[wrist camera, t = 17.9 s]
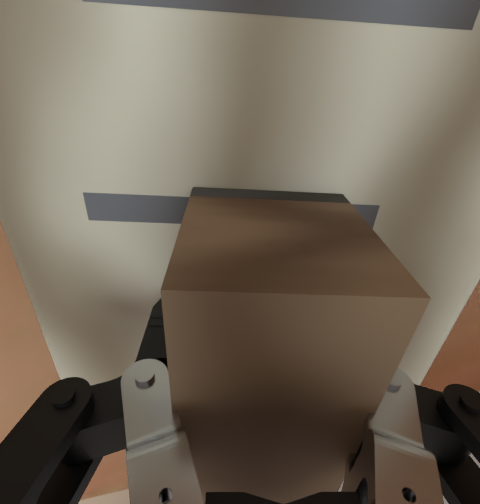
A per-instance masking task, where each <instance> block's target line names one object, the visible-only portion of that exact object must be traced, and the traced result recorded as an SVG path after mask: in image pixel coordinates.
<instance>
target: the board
mask: <svg viewBox="0 0 480 504" xmlns="http://www.w3.org/2000/svg"><path fill="white" fill-rule="evenodd" d="M193 187H205V188H226V189H247V190H268V191H289V192H309V193H330V194H343V195H344V196H345V197H346V198H347V200H348V201H349V202H350V203H351V204H352V205H353V207H354V208H355V209H356V210H357V211H358V213H359V214H360V215H361V216H362V217H363V218H364V220H365V221H366V222H367V223H368V224H369V226H370V227H371V228H372V229H373V230H374V231H375V233H376V234H377V235H378V236H379V237H380V239H381V240H382V241H383V242H384V243H385V244H386V246H387V247H388V248H389V249H390V250H391V252H392V253H393V254H394V255H395V256H396V257H397V259H398V260H399V261H400V262H401V263H402V265H403V266H404V267H405V268H406V269H407V270H408V272H409V273H410V274H411V275H412V276H413V278H414V279H415V280H416V281H417V282H418V283H419V285H420V286H421V287H422V288H423V289H424V291H425V292H426V293H427V294H428V295H429V296H430V298H431V300H430V302H429V304H428V306H427V308H426V310H425V312H424V314H423V316H422V318H421V320H420V322H419V325H418V327H417V329H416V331H415V333H414V335H413V337H412V339H411V341H410V343H409V345H408V347H407V349H406V351H405V353H404V356H403V358H402V360H401V362H400V364H399V366H398V368H399V369H401V370H402V371H403V372H405V373H406V374H407V375H408V376H409V377H410V379H411V380H412V382H413V383H414V384H416V385H419V386H420V384H421V382H422V380H423V379H424V377H425V375H426V373H427V372H428V370H429V368H430V366H431V364H432V363H433V361H434V359H435V357H436V356H437V354H438V352H439V350H440V348H441V347H442V345H443V343H444V341H445V340H446V338H447V336H448V334H449V332H450V331H451V329H452V327H453V325H454V324H455V322H456V320H457V318H458V316H459V315H460V313H461V311H462V309H463V308H464V306H465V304H466V302H467V301H468V299H469V297H470V295H471V293H472V292H473V290H474V288H475V286H476V285H477V283H478V281H479V279H480V0H0V221H1V224H2V226H3V229H4V232H5V234H6V237H7V240H8V242H9V245H10V248H11V250H12V253H13V255H14V258H15V261H16V263H17V266H18V269H19V271H20V274H21V277H22V279H23V282H24V285H25V287H26V290H27V292H28V295H29V298H30V300H31V303H32V306H33V308H34V311H35V314H36V316H37V319H38V322H39V324H40V327H41V329H42V332H43V335H44V337H45V340H46V343H47V345H48V348H49V351H50V353H51V356H52V358H53V361H54V364H55V366H56V369H57V372H58V374H59V377H60V380H62V379H65V378H69V377H80V378H83V379H85V380H87V381H88V382H89V384H90V386H91V385H95V384H99V383H103V382H106V381H110V380H113V379H116V378H118V377H120V376H121V375H123V373H124V372H125V370H126V369H127V368H128V367H129V366H130V365H132V364H133V363H135V360H136V358H137V354H138V351H139V348H140V345H141V342H142V339H143V336H144V333H145V330H146V327H147V323H148V320H149V318H150V314H151V311H152V308H153V306H154V305H155V304H156V303H157V302H158V301H159V299H160V298H161V287H162V284H163V280H164V277H165V274H166V271H167V268H168V264H169V261H170V258H171V255H172V252H173V248H174V245H175V242H176V239H177V236H178V232H179V229H180V226H181V223H182V220H183V216H184V213H185V210H186V207H187V204H188V201H189V197H190V194H191V191H192V188H193Z"/></svg>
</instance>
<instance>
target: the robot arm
mask: <svg viewBox="0 0 480 504" xmlns="http://www.w3.org/2000/svg"><path fill="white" fill-rule="evenodd" d="M126 448H127V449H126ZM123 449H126V465H127V475H128V486H129V497H130V504H204V502H203V498H202V494H201V490H200V486H199V482H198V478H197V475H196V471H195V467H194V463H193V459H192V455H191V451H190V447H189V443H188V440H187V436H186V433H185V430H184V429H183V428H182V425H181V421H180V417H179V413H178V410H172V407H171V396H170V386H169V375H168V364H167V354H166V343H165V332H164V322H163V311H162V301H161V298H160V299H159V301H158V302H157V303H156V304H155V305H154V306H153V308H152V311H151V314H150V318H149V320H148V323H147V327H146V330H145V333H144V336H143V339H142V342H141V345H140V348H139V351H138V354H137V358H136V360H135V363H133V364H132V365H130V366H129V367H128V368H127V369H126V370H125V372H124V373H123V375H121V376H120V377H118V378H116V379H113V380H110V381H106V382H103V383H99V384H95V385H91V386H90V384H89V382H88V381H87V380H85V379H83V378H80V377H69V378H65V379H62V380H59V381H57V382H55V383H54V384H52V385H51V386H49V387H48V388H47V389H46V390H45V391H44V392H43V393H42V394H41V395H40V397H39V398H38V399H37V400H36V401H35V403H34V404H33V405H32V406H31V407H30V409H29V410H28V411H27V412H26V413H25V415H24V416H23V417H22V418H21V419H20V421H19V422H18V423H17V424H16V425H15V427H14V428H13V429H12V430H11V431H10V433H9V434H8V435H7V436H6V438H5V439H4V440H3V441H2V442H1V444H0V504H78V502H79V501H80V499H81V497H82V495H83V493H84V491H85V489H86V488H87V486H88V484H89V482H90V480H91V478H92V476H93V475H94V473H95V471H96V469H97V467H98V465H99V463H100V462H101V460H102V458H103V456H105V455H108V454H111V453H114V452H117V451H120V450H123ZM471 453H472V454H473V455H474V457H475V458H476V459H477V460H478V461H479V463H480V393H479V392H477V391H476V390H474V389H472V388H470V387H467V386H464V385H460V384H451V385H448V386H447V387H446V388H445V389H444V391H443V392H439V391H436V390H432V389H429V388H425V387H422V386H419V385H416V384H414V383H413V382H412V380H411V379H410V377H409V376H408V375H407V374H406V373H405V372H403V371H402V370H401V369H399V368H397V370H396V372H395V374H394V376H393V378H392V380H391V382H390V384H389V387H388V389H387V391H386V393H385V395H384V397H383V399H382V401H381V403H380V405H379V407H378V409H377V411H376V413H368V414H367V416H366V418H365V420H364V423H363V440H362V442H361V444H360V447H359V449H358V451H357V453H356V454H352V453H349V455H348V457H347V460H346V462H345V477H344V483H343V487H342V491H341V492H318V493H316V494H313V495H310V496H307V497H304V498H301V499H298V500H295V501H292V502H289V503H286V504H444V501H443V496H444V497H445V499H446V500H447V502H448V503H449V504H480V468H479V467H478V466H477V464H476V463H475V462H474V461H473V459H472V458H471V457H470V456H469V455H470V454H471ZM442 494H443V495H442ZM205 504H282V503H278V502H275V501H271V500H268V499H265V498H262V497H259V496H255V495H252V494H249V493H246V492H206V499H205Z"/></svg>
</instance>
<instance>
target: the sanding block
mask: <svg viewBox="0 0 480 504" xmlns="http://www.w3.org/2000/svg"><path fill="white" fill-rule="evenodd" d="M430 300H431V298H430V296H429V295H428V294H427V293H426V292H425V291H424V289H423V288H422V287H421V286H420V285H419V283H418V282H417V281H416V280H415V279H414V278H413V276H412V275H411V274H410V273H409V272H408V270H407V269H406V268H405V267H404V266H403V265H402V263H401V262H400V261H399V260H398V259H397V257H396V256H395V255H394V254H393V253H392V252H391V250H390V249H389V248H388V247H387V246H386V244H385V243H384V242H383V241H382V240H381V239H380V237H379V236H378V235H377V234H376V233H375V231H374V230H373V229H372V228H371V227H370V226H369V224H368V223H367V222H366V221H365V220H364V218H363V217H362V216H361V215H360V214H359V213H358V211H357V210H356V209H355V208H354V207H353V205H352V204H351V203H350V202H349V201H348V200H347V198H346V197H345V196H344V195H343V194H330V193H309V192H289V191H268V190H247V189H226V188H205V187H193V188H192V191H191V194H190V197H189V201H188V204H187V207H186V210H185V213H184V216H183V220H182V223H181V226H180V229H179V232H178V236H177V239H176V242H175V245H174V248H173V252H172V255H171V258H170V261H169V264H168V268H167V271H166V274H165V277H164V280H163V284H162V287H161V301H162V311H163V322H164V332H165V343H166V354H167V364H168V375H169V386H170V396H171V407H172V410H178V413H179V417H180V421H181V425H182V428H183V429H184V430H185V433H186V436H187V440H188V443H189V447H190V451H191V455H192V459H193V463H194V467H195V471H196V475H197V478H198V482H199V486H200V490H201V494H202V498H203V502H204V504H205V499H206V492H246V493H249V494H252V495H255V496H259V497H262V498H265V499H268V500H271V501H275V502H278V503H282V504H286V503H289V502H292V501H295V500H298V499H301V498H304V497H307V496H310V495H313V494H316V493H318V492H338V490H339V488H340V486H341V484H342V482H343V480H344V477H345V462H346V460H347V457H348V455H349V453H352V454H356V453H357V451H358V449H359V447H360V444H361V442H362V440H363V423H364V420H365V418H366V416H367V414H368V413H376V411H377V409H378V407H379V405H380V403H381V401H382V399H383V397H384V395H385V393H386V391H387V389H388V387H389V384H390V382H391V380H392V378H393V376H394V374H395V372H396V370H397V368H398V366H399V364H400V362H401V360H402V358H403V356H404V353H405V351H406V349H407V347H408V345H409V343H410V341H411V339H412V337H413V335H414V333H415V331H416V329H417V327H418V325H419V322H420V320H421V318H422V316H423V314H424V312H425V310H426V308H427V306H428V304H429V302H430Z"/></svg>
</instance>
